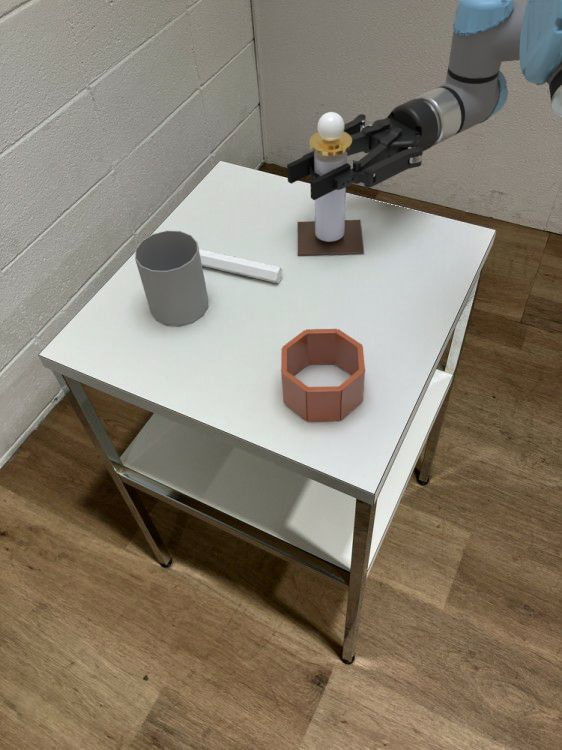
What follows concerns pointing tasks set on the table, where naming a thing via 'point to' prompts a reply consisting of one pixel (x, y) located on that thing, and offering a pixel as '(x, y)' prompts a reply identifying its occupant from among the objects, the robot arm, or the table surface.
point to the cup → (172, 277)
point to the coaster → (343, 246)
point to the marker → (240, 266)
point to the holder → (322, 350)
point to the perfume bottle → (328, 157)
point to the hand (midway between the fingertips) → (300, 182)
